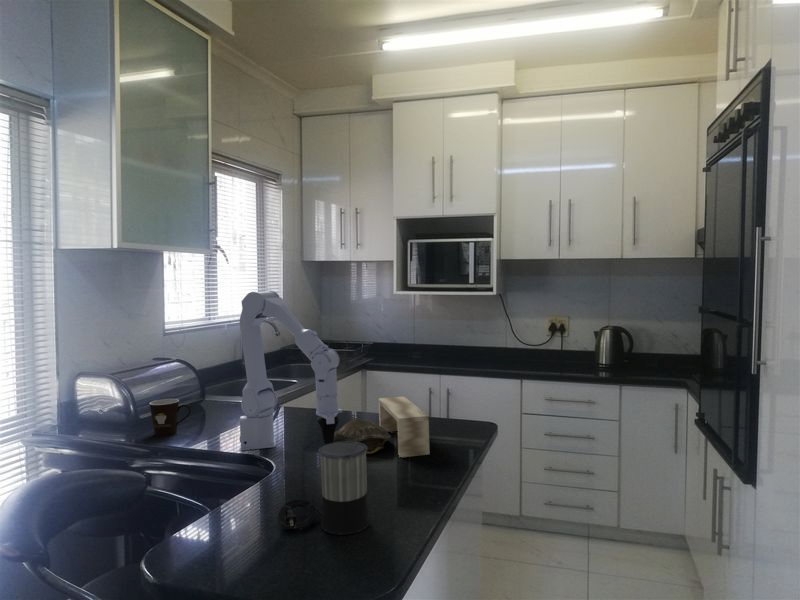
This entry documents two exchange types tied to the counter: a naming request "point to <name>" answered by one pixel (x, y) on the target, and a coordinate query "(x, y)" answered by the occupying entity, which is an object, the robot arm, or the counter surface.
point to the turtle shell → (363, 434)
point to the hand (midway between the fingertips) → (328, 444)
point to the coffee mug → (166, 416)
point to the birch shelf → (405, 425)
